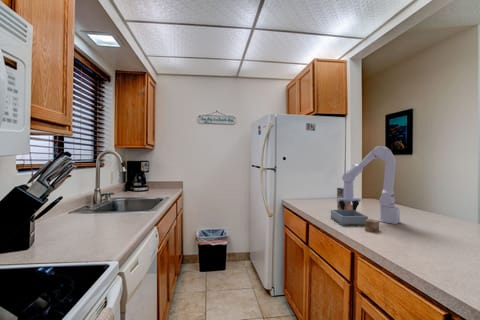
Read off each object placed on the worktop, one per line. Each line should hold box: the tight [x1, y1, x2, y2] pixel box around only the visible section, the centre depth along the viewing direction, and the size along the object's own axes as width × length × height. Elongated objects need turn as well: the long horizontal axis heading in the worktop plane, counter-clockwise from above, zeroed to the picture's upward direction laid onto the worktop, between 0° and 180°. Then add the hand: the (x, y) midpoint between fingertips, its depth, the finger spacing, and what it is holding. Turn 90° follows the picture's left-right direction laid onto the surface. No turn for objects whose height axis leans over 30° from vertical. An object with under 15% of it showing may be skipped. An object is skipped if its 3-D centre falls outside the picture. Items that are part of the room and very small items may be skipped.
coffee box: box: [336, 187, 352, 210], centre depth 172 cm, size 9×6×16 cm
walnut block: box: [364, 218, 380, 233], centre depth 126 cm, size 5×5×5 cm
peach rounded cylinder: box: [345, 204, 353, 210], centre depth 158 cm, size 5×5×7 cm
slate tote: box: [330, 209, 369, 227], centre depth 144 cm, size 18×14×5 cm
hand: (348, 212), depth 158 cm, fingers open, 6 cm apart
